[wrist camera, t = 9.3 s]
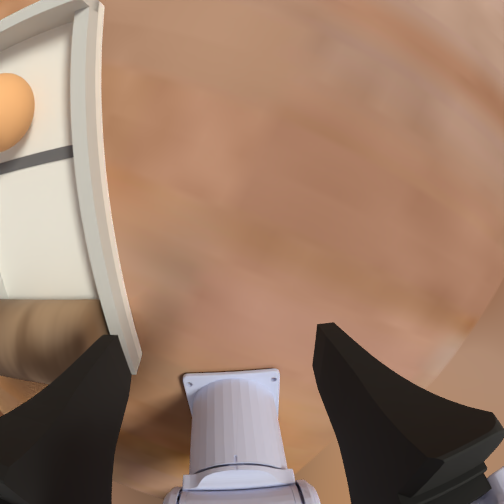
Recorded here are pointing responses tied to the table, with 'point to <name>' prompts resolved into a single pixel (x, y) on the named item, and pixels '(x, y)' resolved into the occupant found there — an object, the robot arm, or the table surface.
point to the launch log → (46, 336)
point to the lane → (61, 168)
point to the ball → (14, 109)
